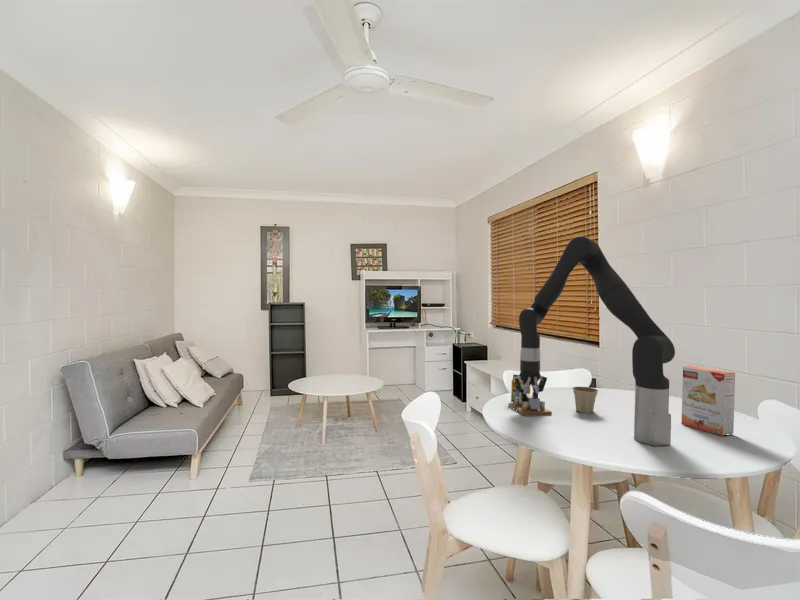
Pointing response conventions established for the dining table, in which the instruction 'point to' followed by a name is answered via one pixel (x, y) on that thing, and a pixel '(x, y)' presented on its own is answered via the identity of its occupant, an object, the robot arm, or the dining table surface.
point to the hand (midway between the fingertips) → (529, 402)
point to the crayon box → (514, 392)
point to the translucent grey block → (531, 401)
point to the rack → (527, 411)
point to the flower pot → (585, 398)
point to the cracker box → (708, 399)
